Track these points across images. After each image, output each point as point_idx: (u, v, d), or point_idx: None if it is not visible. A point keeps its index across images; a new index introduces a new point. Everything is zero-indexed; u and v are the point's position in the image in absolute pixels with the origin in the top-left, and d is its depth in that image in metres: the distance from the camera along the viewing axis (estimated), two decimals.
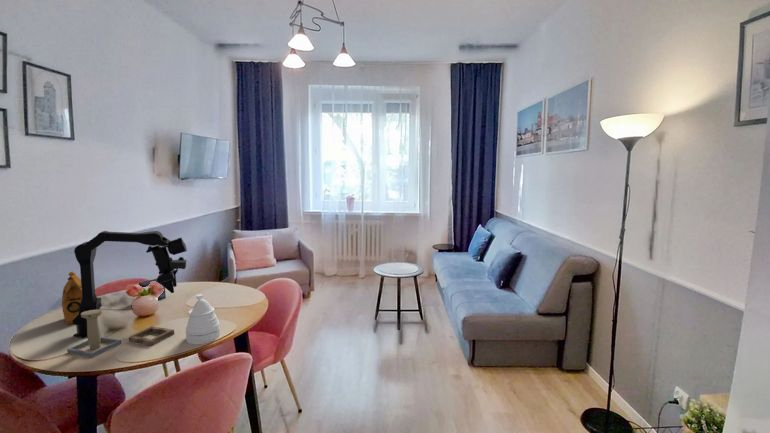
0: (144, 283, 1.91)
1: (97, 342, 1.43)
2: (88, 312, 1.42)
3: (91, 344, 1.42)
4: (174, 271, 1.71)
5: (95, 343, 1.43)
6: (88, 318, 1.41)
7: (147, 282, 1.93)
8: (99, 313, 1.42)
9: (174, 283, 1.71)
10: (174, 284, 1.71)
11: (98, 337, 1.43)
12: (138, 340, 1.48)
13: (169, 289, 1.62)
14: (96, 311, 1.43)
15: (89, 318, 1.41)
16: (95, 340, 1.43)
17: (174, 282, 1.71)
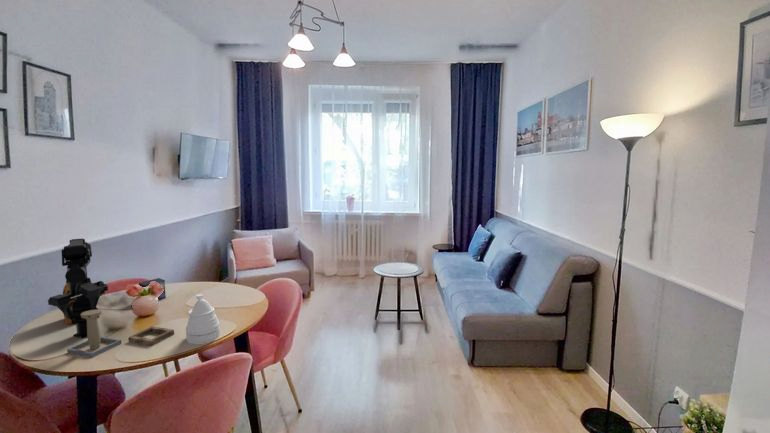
0: (144, 283, 1.91)
1: (97, 342, 1.43)
2: (88, 312, 1.42)
3: (91, 344, 1.42)
4: None
5: (95, 343, 1.43)
6: (88, 318, 1.40)
7: (147, 282, 1.93)
8: (99, 313, 1.42)
9: (92, 306, 1.49)
10: (92, 307, 1.49)
11: (98, 337, 1.43)
12: (138, 340, 1.48)
13: (65, 314, 1.39)
14: (96, 311, 1.43)
15: (89, 318, 1.40)
16: (95, 340, 1.43)
17: (93, 305, 1.48)
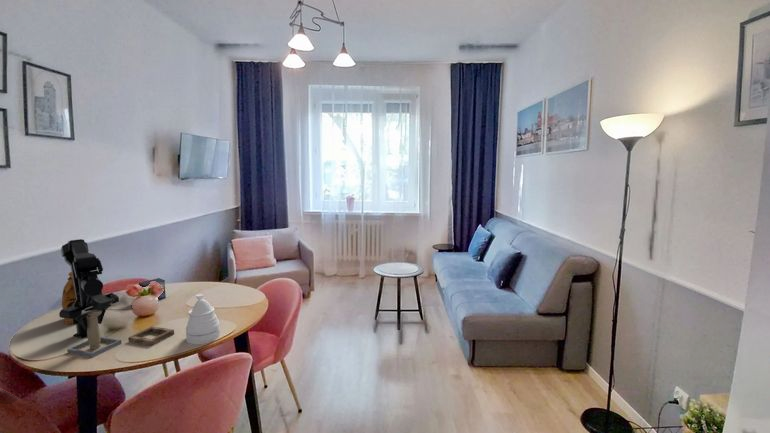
0: (144, 283, 1.91)
1: (97, 342, 1.43)
2: (88, 312, 1.42)
3: (91, 344, 1.42)
4: None
5: (95, 343, 1.43)
6: (88, 318, 1.41)
7: (147, 282, 1.93)
8: (99, 313, 1.42)
9: (98, 320, 1.45)
10: (99, 321, 1.45)
11: (98, 337, 1.43)
12: (138, 340, 1.48)
13: (81, 324, 1.40)
14: (96, 311, 1.43)
15: (89, 318, 1.41)
16: (95, 340, 1.43)
17: (99, 319, 1.45)
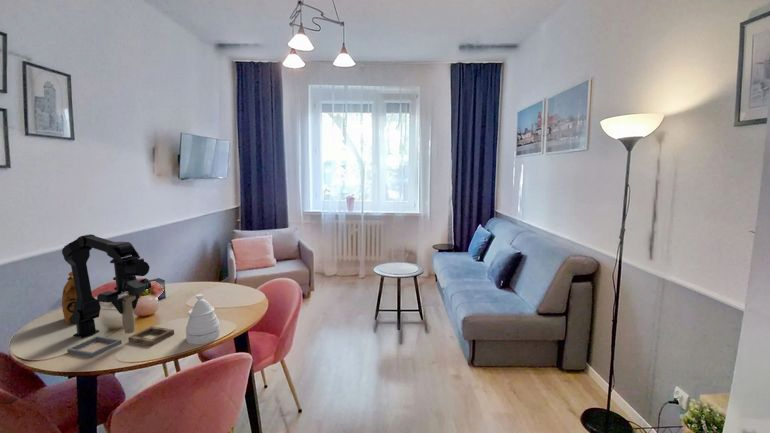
0: None
1: (131, 326, 1.48)
2: (123, 297, 1.46)
3: (126, 328, 1.47)
4: None
5: (130, 327, 1.47)
6: (123, 303, 1.45)
7: None
8: (133, 298, 1.47)
9: (132, 305, 1.50)
10: (133, 306, 1.50)
11: (132, 321, 1.48)
12: (138, 340, 1.48)
13: (117, 309, 1.44)
14: (130, 296, 1.48)
15: (124, 303, 1.45)
16: (130, 324, 1.47)
17: (133, 304, 1.50)
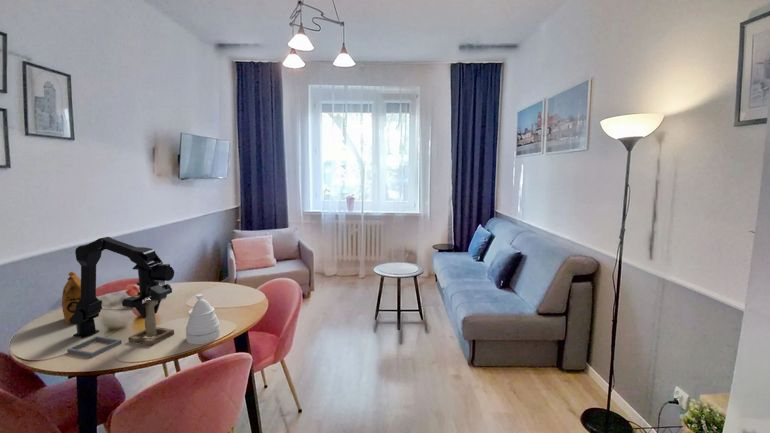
0: None
1: (153, 330, 1.52)
2: (146, 302, 1.50)
3: (148, 332, 1.51)
4: None
5: (152, 331, 1.51)
6: (146, 307, 1.49)
7: None
8: (156, 303, 1.51)
9: (154, 309, 1.54)
10: (154, 310, 1.54)
11: (154, 325, 1.52)
12: (138, 340, 1.48)
13: (140, 313, 1.48)
14: (153, 301, 1.52)
15: (147, 307, 1.49)
16: (152, 328, 1.51)
17: (155, 308, 1.54)
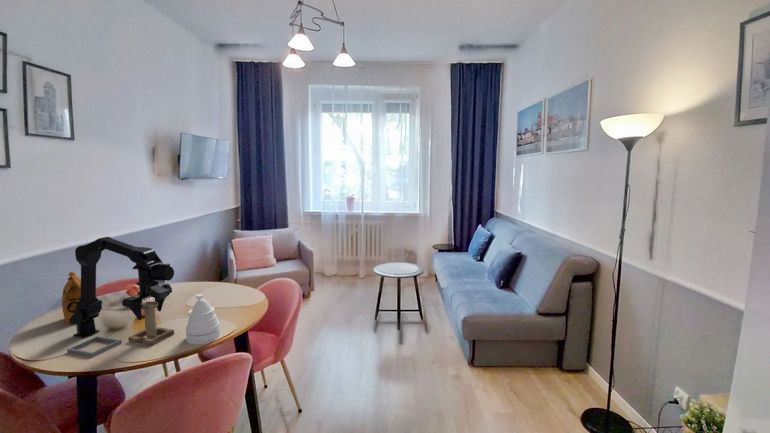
0: None
1: (153, 332, 1.52)
2: (146, 304, 1.51)
3: (148, 334, 1.51)
4: None
5: (152, 333, 1.51)
6: (146, 309, 1.49)
7: None
8: (156, 305, 1.51)
9: (158, 307, 1.56)
10: (158, 308, 1.56)
11: (154, 328, 1.52)
12: (138, 340, 1.48)
13: (136, 315, 1.46)
14: (153, 303, 1.52)
15: (147, 309, 1.49)
16: (152, 330, 1.51)
17: (159, 306, 1.56)
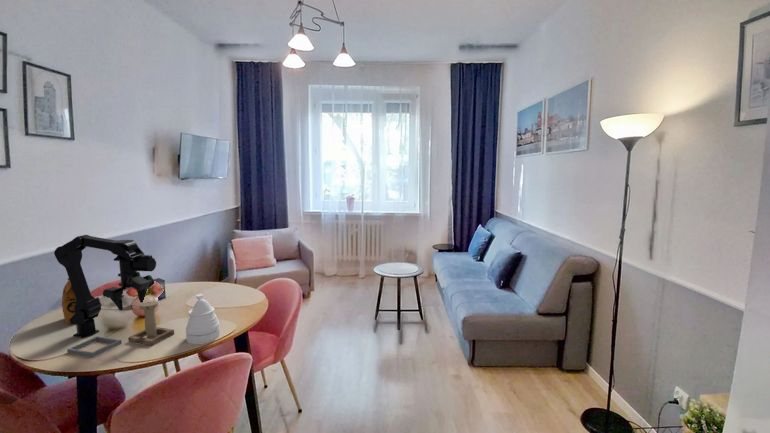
0: None
1: (153, 332, 1.52)
2: (146, 304, 1.51)
3: (148, 334, 1.51)
4: None
5: (152, 333, 1.51)
6: (146, 310, 1.49)
7: None
8: (156, 305, 1.51)
9: (140, 299, 1.58)
10: (140, 300, 1.58)
11: (154, 328, 1.52)
12: (138, 340, 1.48)
13: (117, 305, 1.48)
14: (153, 303, 1.52)
15: (147, 310, 1.49)
16: (152, 330, 1.51)
17: (141, 298, 1.58)
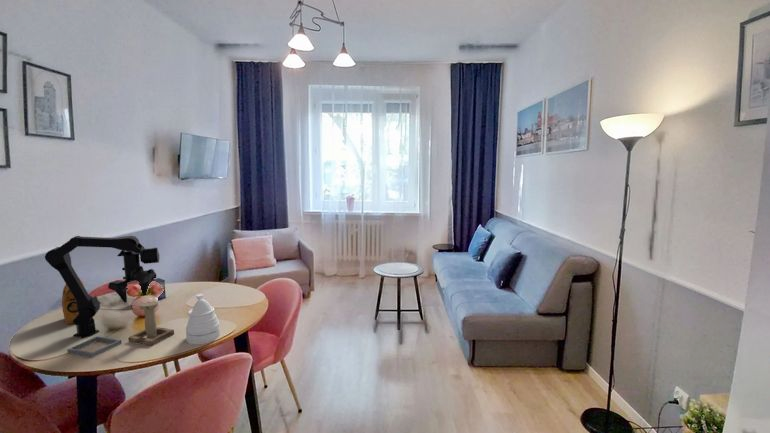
0: None
1: (153, 332, 1.52)
2: (146, 304, 1.51)
3: (148, 334, 1.51)
4: None
5: (152, 333, 1.51)
6: (146, 310, 1.49)
7: None
8: (156, 305, 1.51)
9: (143, 292, 1.66)
10: (143, 292, 1.66)
11: (154, 328, 1.52)
12: (138, 340, 1.48)
13: (121, 298, 1.57)
14: (153, 303, 1.52)
15: (147, 310, 1.49)
16: (152, 330, 1.51)
17: (144, 291, 1.66)
